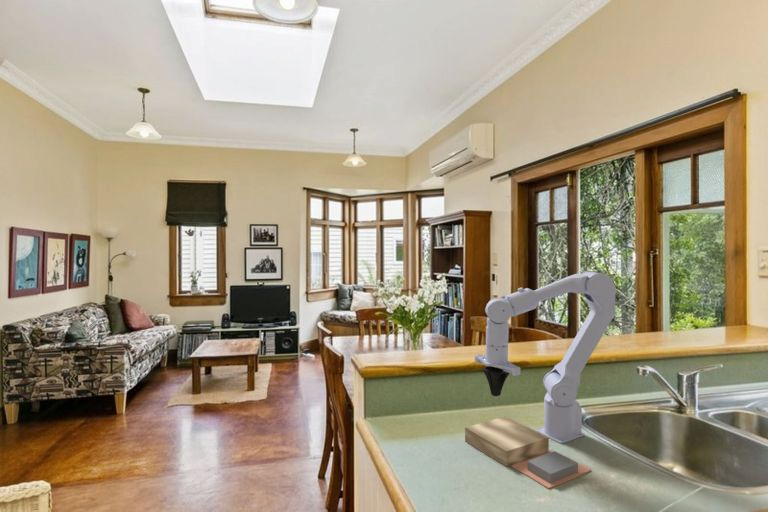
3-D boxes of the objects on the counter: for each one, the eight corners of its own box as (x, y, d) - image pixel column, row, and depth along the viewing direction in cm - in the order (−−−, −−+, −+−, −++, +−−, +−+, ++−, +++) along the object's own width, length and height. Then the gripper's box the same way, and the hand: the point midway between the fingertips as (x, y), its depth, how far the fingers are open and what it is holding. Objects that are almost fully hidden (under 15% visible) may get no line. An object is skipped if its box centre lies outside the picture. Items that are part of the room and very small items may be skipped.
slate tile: (578, 462, 94) (578, 471, 94) (554, 451, 99) (554, 459, 99) (550, 474, 89) (550, 483, 89) (527, 461, 94) (527, 470, 94)
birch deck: (505, 429, 115) (505, 416, 115) (548, 451, 103) (548, 437, 103) (465, 441, 108) (465, 427, 108) (506, 466, 96) (506, 451, 96)
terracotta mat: (553, 451, 103) (553, 450, 103) (591, 470, 95) (591, 469, 95) (511, 466, 96) (511, 465, 96) (548, 489, 88) (548, 487, 88)
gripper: (466, 340, 118) (466, 389, 119) (506, 352, 106) (505, 407, 106) (485, 337, 122) (484, 385, 122) (526, 349, 109) (525, 401, 110)
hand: (495, 395), depth 114 cm, fingers closed
